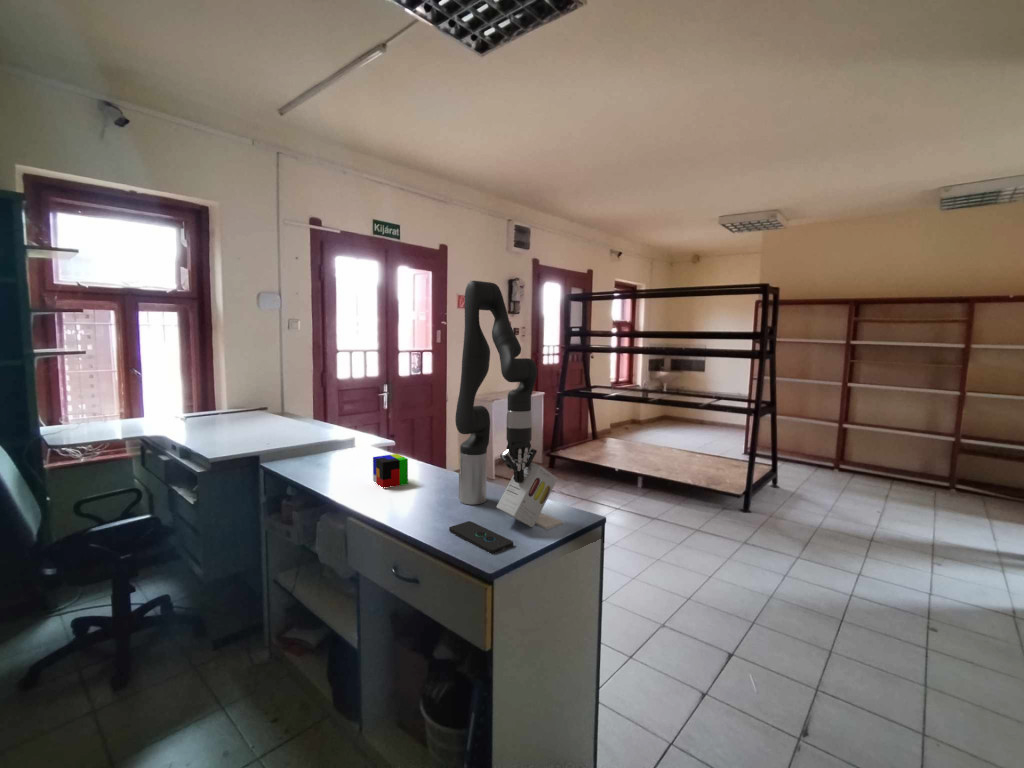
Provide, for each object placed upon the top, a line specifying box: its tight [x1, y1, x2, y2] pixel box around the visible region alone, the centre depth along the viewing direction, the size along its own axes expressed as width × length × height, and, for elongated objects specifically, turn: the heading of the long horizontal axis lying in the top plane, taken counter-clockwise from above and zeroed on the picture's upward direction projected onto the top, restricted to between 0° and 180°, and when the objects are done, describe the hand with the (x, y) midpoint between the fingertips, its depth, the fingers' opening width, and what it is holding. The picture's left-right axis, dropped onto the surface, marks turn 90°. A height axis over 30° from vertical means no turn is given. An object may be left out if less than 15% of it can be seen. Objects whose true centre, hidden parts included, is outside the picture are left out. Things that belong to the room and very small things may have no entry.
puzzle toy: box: [372, 453, 409, 489], centre depth 183 cm, size 10×10×10 cm
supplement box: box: [496, 462, 558, 528], centre depth 145 cm, size 10×9×17 cm
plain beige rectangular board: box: [534, 512, 564, 530], centre depth 149 cm, size 16×7×1 cm, turn 40°
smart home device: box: [448, 520, 514, 555], centre depth 134 cm, size 8×2×20 cm
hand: (518, 482), depth 142 cm, fingers closed
